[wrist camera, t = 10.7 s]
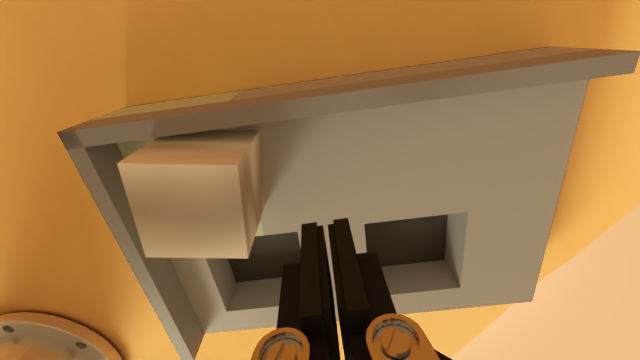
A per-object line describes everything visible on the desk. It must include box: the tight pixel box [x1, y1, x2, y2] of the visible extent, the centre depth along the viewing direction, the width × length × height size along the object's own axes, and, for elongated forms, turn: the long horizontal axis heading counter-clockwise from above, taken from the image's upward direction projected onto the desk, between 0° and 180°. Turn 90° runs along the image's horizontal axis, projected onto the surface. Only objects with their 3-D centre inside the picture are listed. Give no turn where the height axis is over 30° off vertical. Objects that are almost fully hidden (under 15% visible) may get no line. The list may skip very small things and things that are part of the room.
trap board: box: [57, 47, 640, 360], centre depth 18 cm, size 16×24×5 cm, turn 98°
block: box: [117, 130, 265, 259], centre depth 14 cm, size 4×4×4 cm
